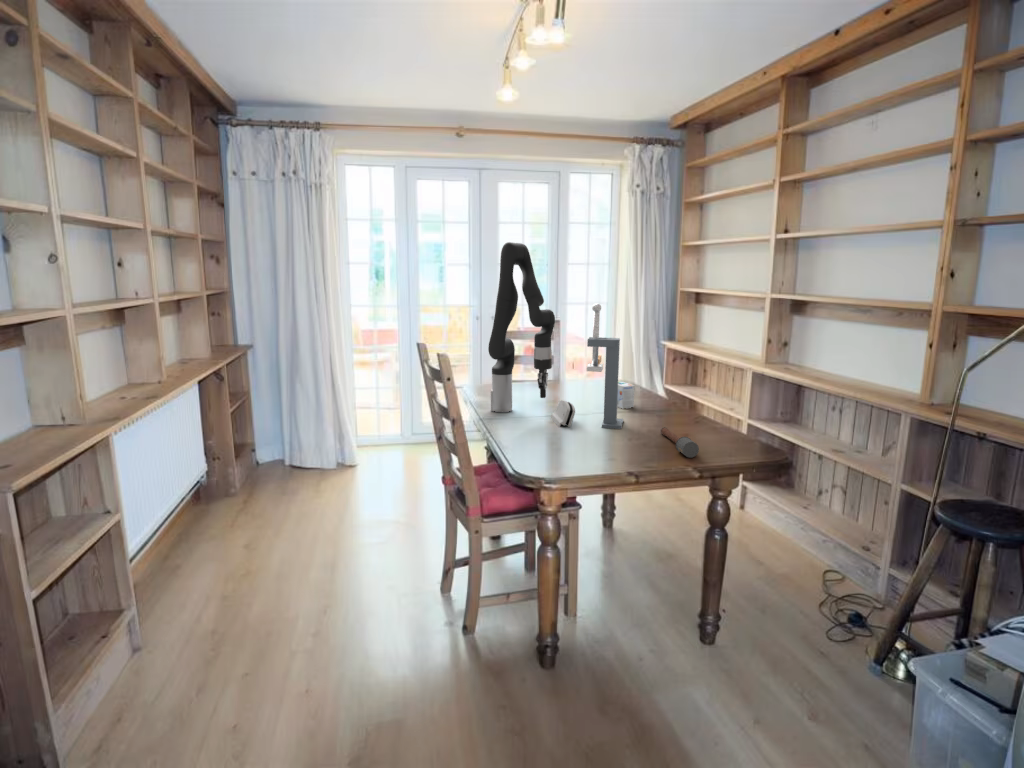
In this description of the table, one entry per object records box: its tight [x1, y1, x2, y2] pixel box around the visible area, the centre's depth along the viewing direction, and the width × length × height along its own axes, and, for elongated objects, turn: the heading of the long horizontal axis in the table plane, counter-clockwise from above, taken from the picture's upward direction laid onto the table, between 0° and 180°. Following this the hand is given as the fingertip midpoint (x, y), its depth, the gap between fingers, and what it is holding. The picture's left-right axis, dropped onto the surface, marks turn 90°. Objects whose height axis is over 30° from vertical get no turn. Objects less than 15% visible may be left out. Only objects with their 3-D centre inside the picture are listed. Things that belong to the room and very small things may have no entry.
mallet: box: [660, 426, 700, 459], centre depth 215 cm, size 6×6×30 cm
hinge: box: [549, 400, 576, 428], centre depth 247 cm, size 17×5×10 cm, turn 9°
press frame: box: [587, 336, 624, 430], centre depth 241 cm, size 15×12×36 cm
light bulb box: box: [617, 381, 636, 410], centre depth 276 cm, size 11×7×11 cm, turn 25°
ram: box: [586, 303, 604, 373], centre depth 244 cm, size 6×20×27 cm, turn 167°
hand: (543, 397), depth 249 cm, fingers closed
